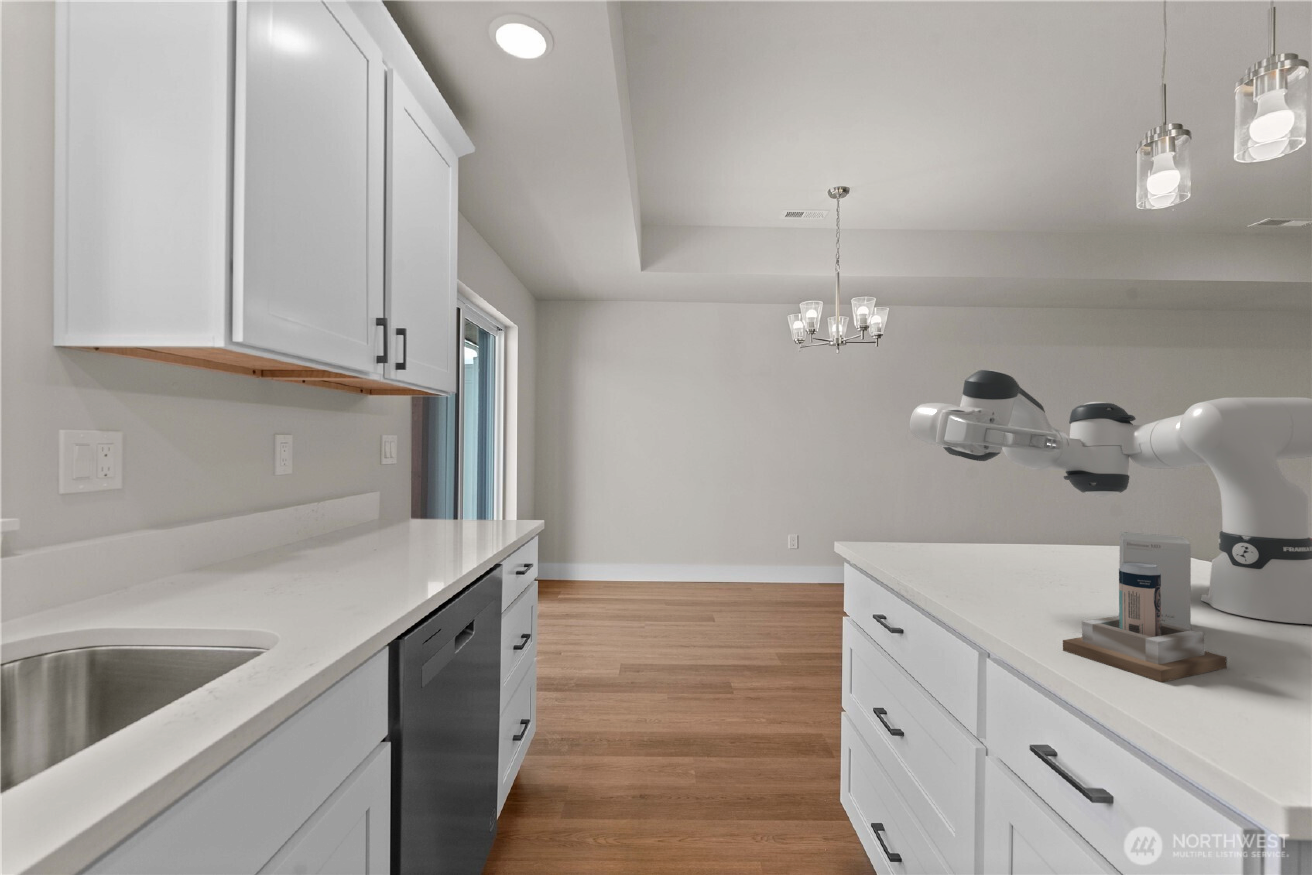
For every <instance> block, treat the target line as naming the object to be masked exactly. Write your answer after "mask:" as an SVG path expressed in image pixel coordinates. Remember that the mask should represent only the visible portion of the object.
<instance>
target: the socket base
mask: <svg viewBox="0 0 1312 875" xmlns="http://www.w3.org/2000/svg"><path fill="white" fill-rule="evenodd" d="M1081 633H1082V634H1081V636H1079V637H1073V638H1066V639H1062V651H1064V652H1067V653H1069V654H1073V655H1077V656H1078V657H1079V656H1080V657H1083V658H1085V659H1089V660H1092V661H1095V662H1098V663H1101V664H1104V665H1107V666H1110V667H1113V668H1116V669H1118V670H1123V671H1126V672H1128V673H1131V672H1132V674H1135V675H1138V676H1141V677H1144V678H1147V679H1150V680H1153V681H1156V682H1159V683H1164V682H1168V681H1173V680H1178V679H1181V678H1182V679H1183V678H1186V677H1190V676H1191V677H1192V676H1195V675H1196V676H1197V675H1201V674H1205V673H1209V672H1214V671H1218V670H1222V669H1227V666H1228V665H1227V656H1225V655H1220V654H1217V653H1213V652H1210V651H1207V650H1205V633H1204V632H1201V631H1195V630H1193V629H1191V630H1188V629H1184V628H1180V627H1176V626H1172V625H1168V624H1164V623H1161V636H1157V637H1150V636H1146V635H1142V634H1139V633H1135V632H1131V631H1127V630H1124V629H1120V628H1119V615H1114V616H1109V617H1101V618H1096V619H1089V620H1088V619H1087V620H1083V621H1081Z"/></svg>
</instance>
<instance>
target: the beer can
mask: <svg viewBox="0 0 1312 875" xmlns="http://www.w3.org/2000/svg"><path fill="white" fill-rule="evenodd" d="M1118 611H1119V613H1118V616H1119V628H1120V629H1124V630H1127V631H1131V632H1135V633H1139V634H1142V635H1146V636H1150V637H1157V636H1161V572H1160V570H1159V569H1158V567H1157V565H1154V564H1150V563H1144V562H1132V561H1130V562H1123V563H1122V565H1121V567H1120V568H1118Z"/></svg>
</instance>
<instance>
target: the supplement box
mask: <svg viewBox="0 0 1312 875" xmlns="http://www.w3.org/2000/svg"><path fill="white" fill-rule="evenodd" d="M1191 546H1192V545H1191V542H1190V541H1189V540H1187V539H1186V537H1185V536H1183V535H1182V536H1181V535H1171V534H1156V533H1144V532H1143V533H1142V532H1141V533H1140V532H1129V531H1120V532H1119V561H1118V562H1119V563H1118V564H1119V566H1118V567H1119V568H1120V567H1121V565H1122V563H1123V562H1130V561H1132V562H1144V563H1150V564H1154V565H1157V567H1158V569H1159V570H1160V572H1161V623H1164V624H1168V625H1172V626H1176V627H1180V628H1184V629H1188V630H1192V628H1191V624H1192V623H1191V622H1192V620H1191V619H1192V618H1191V617H1192V616H1191V614H1192V613H1191V610H1192V609H1191V608H1192V607H1191V606H1192V605H1191V604H1192V602H1191V599H1192V597H1191V596H1192V595H1191V591H1192V590H1191V588H1192V587H1191V586H1192V585H1191V582H1192V581H1191V577H1192V574H1191V573H1192V572H1191V571H1192V570H1191V568H1192V566H1191V564H1192V560H1191V557H1192V555H1191V554H1192V552H1191ZM1119 568H1118V569H1119Z"/></svg>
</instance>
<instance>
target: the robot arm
mask: <svg viewBox="0 0 1312 875" xmlns="http://www.w3.org/2000/svg"><path fill="white" fill-rule="evenodd" d="M1135 420H1136V417H1135V415H1132V414H1129V413H1128V412H1127V411H1126V410H1125V409H1124V408H1122V407H1121V406H1119V405H1117V404H1115V403H1111V402H1105V401H1090V402H1089V401H1088V402H1085V403H1084V404H1081V405H1077V406H1075V407H1074V408H1073V409H1072V410H1071V412H1070V416H1069V421H1068V423H1069V424H1070V427H1069V436H1068V435H1067V434H1066V433H1065V432H1064V431H1062V430H1061V429H1060V428H1058V427H1055V426H1053V425H1051V424H1050V422H1049V419H1048V417H1047V415H1046V410H1045V408H1044V406H1043V405H1042V403H1040V402H1039V401H1038V400H1037V399H1035V397H1034V396H1032V395H1030V394H1029V393H1028V392H1027V391H1026V390H1025V389H1023V388H1022V387H1021V386H1020V384H1019V383H1018V381H1017V380H1016V379H1015V378H1014V377H1013V376H1012V375H1009V374H1007V373H1005V372H1002V371H999V370H993V369H980V370H979V369H978V370H977V371H975V372H974V373H972V374H971V375H970V376H968V377H967V378H965V379H964V381H963V389H962V396H961V400H960V404H959V405H956V404H953V403H943V402H927V403H926V402H925V403H921V404H919V405H918V406H917V407H915V408H914V410H913V411H912V414H911V416H910V421H909V429H910V432H911V434H912V435H913V437H915V438H917V439H918V440H920V441H923V442H925V443H928V444H930V445H934V446H937V447H940V448H941V447H942V448H943V449H944V450H945V451H946V453H948V454H949V455H952V456H956V457H961V458H964V459H967V460H972V461H977V462H987V461H989V460H992V459H993V458H995V457H997V456H998V455H1000V454H1001V453H1002V451H1003V454H1004V456H1005V457H1006V458H1007V459H1008V460H1009V461H1010V462H1011V463H1013V464H1014V465H1016V466H1018V467H1022V468H1023V469H1027V470H1028V469H1029V470H1035V471H1050V470H1062V471H1065V475H1064V476H1063V479H1064V480H1066V481H1069V482H1070V484H1071V485H1072V486H1073V487H1074V488H1075V489H1076V490H1078V491H1079V492H1081V493H1082V494H1083V493H1084V494H1087V495H1090V496H1094V497H1099V498H1102V497H1103V498H1104V497H1105V498H1106V497H1111V496H1114V495H1116V494H1117V495H1118V494H1121V493H1123V492H1125V491H1126V490H1127V489H1128V486H1129V483H1130V475H1129V469H1130V468H1129V466H1130V465H1129V464H1130V460H1132V462H1133V463H1135V464H1137V465H1138V466H1140V467H1144V468H1146V469H1157V470H1176V469H1177V470H1178V469H1190V468H1196V467H1205V466H1206V467H1207V466H1208V467H1209V469H1210V470H1211V472H1212V474H1213V475H1214V478H1215V481H1216V483H1217V485H1218V489H1219V494H1220V502H1221V503H1220V504H1221V523H1222V528H1221V529H1222V530H1221V531H1219V536H1218V549H1219V551H1221V552H1220V554H1219V555H1218V556H1216V557H1215V558H1214V559H1212V560H1211V567H1210V574H1209V575H1210V576H1209V585H1208V586H1209V587H1208V594H1202V595H1201V601H1202V602H1205V603H1207V604H1209V605H1210V606H1211V607H1212V608H1214V609H1216V610H1218V611H1222V612H1225V613H1228V614H1233V615H1237V616H1242V617H1246V618H1252V619H1257V620H1258V619H1259V620H1265V621H1272V622H1279V623H1289V624H1301V625H1303V624H1305V625H1312V537H1309V499H1308V494H1307V493H1306V491H1305V490H1304V489H1303V488H1301V487H1300V486H1299V485H1298V484H1296V483H1294V482H1291V481H1290V480H1288V478H1286V477H1285V475H1284V474H1283V472H1282V471H1281V469H1280V467H1279V463H1278V461H1282V460H1293V459H1303V458H1305V459H1306V458H1311V457H1312V398H1309V397H1305V396H1304V397H1299V396H1298V397H1296V396H1295V397H1291V396H1290V397H1288V396H1287V397H1286V396H1285V397H1282V396H1281V397H1276V396H1275V397H1268V396H1267V397H1263V396H1262V397H1259V396H1258V397H1255V396H1254V397H1251V396H1250V397H1248V396H1247V397H1246V396H1245V397H1241V396H1240V397H1221V398H1215V399H1211V400H1210V399H1209V400H1205V401H1200V402H1197V403H1194V404H1192V405H1190V406H1189V408H1187V409H1186V410H1185V412H1184V413H1183V414H1180V415H1175V416H1171V417H1166V418H1163V419H1162V418H1161V419H1158V420H1155V421H1153V422H1149V423H1146V424H1133V423H1132V422H1134V421H1135Z"/></svg>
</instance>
